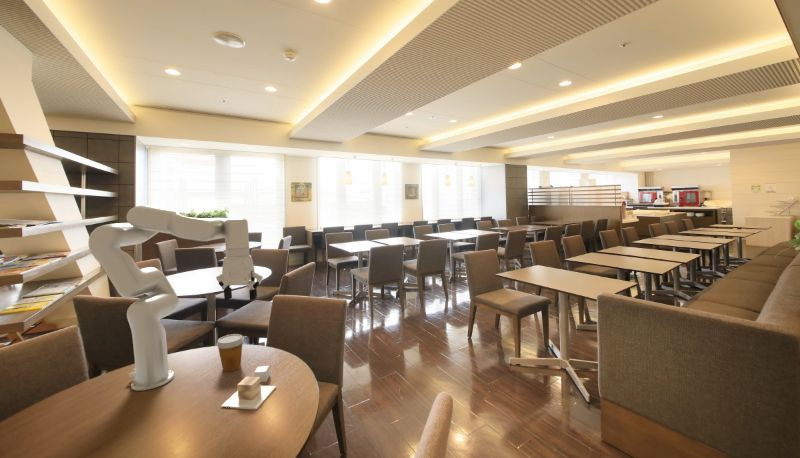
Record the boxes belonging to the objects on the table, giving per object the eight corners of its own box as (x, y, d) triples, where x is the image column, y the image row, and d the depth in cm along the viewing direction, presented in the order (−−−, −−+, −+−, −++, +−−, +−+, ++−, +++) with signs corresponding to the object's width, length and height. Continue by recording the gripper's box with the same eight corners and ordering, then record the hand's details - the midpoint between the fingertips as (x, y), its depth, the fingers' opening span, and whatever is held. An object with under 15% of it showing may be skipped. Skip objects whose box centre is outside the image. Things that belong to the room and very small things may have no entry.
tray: (221, 407, 102) (221, 405, 102) (244, 386, 114) (244, 384, 114) (256, 409, 101) (256, 407, 101) (275, 387, 113) (275, 385, 113)
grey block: (254, 382, 117) (254, 372, 116) (258, 377, 121) (257, 366, 120) (266, 381, 117) (265, 371, 117) (269, 376, 121) (268, 365, 121)
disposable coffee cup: (249, 362, 132) (248, 333, 131) (235, 374, 123) (234, 343, 122) (228, 361, 133) (226, 333, 132) (212, 373, 124) (210, 343, 123)
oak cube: (238, 399, 106) (237, 384, 105) (247, 390, 110) (246, 376, 110) (252, 400, 105) (251, 385, 104) (260, 391, 110) (260, 377, 109)
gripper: (208, 254, 112) (211, 302, 114) (254, 254, 110) (257, 303, 111) (222, 251, 120) (225, 296, 121) (266, 251, 118) (268, 296, 119)
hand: (240, 299), depth 116 cm, fingers open, 9 cm apart
